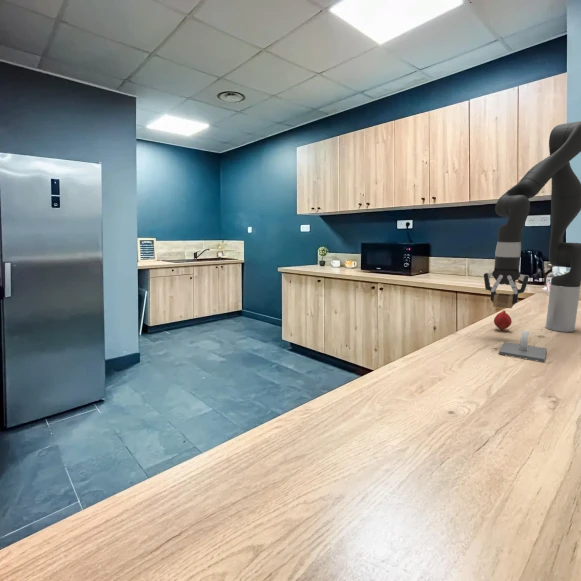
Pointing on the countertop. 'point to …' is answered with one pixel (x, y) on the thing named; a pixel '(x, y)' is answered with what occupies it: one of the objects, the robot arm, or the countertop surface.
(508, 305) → the ring
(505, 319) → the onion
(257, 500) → the countertop surface
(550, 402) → the countertop surface
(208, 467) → the countertop surface
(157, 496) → the countertop surface
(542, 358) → the post stand
